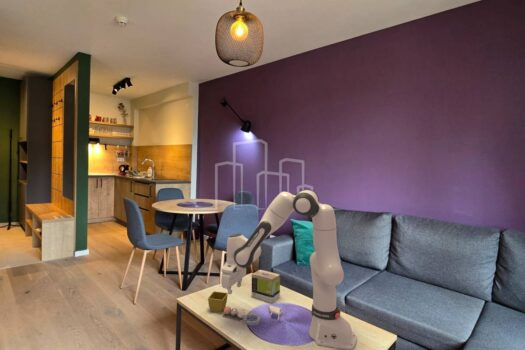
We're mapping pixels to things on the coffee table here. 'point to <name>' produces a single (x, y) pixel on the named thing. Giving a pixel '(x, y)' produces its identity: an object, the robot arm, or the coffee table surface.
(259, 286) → the tea box
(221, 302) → the flower pot
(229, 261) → the robot arm
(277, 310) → the origami figure
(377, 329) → the coffee table surface
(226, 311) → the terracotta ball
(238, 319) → the parts mat
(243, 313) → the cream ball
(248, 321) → the race ring
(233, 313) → the steel ball
